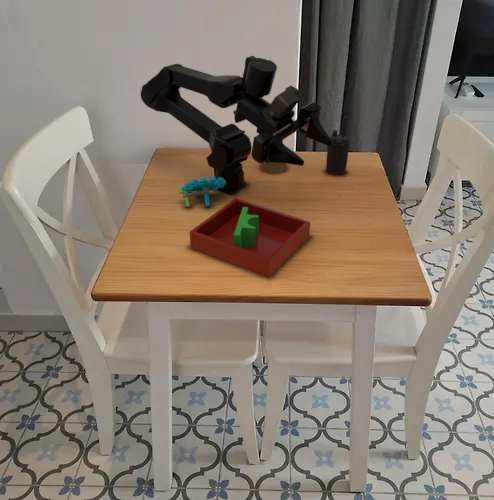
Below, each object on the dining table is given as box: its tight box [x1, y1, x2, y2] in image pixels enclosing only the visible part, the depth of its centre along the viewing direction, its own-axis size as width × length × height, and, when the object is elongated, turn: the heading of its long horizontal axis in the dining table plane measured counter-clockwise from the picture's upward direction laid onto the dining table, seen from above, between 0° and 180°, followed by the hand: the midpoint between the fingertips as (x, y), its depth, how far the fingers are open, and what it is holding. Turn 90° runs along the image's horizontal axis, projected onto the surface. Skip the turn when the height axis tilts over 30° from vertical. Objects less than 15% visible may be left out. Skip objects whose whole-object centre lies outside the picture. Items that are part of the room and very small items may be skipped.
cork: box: [261, 140, 286, 174], centre depth 140 cm, size 6×6×11 cm
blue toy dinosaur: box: [177, 176, 226, 208], centre depth 126 cm, size 11×6×10 cm
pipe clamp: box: [234, 207, 258, 248], centre depth 113 cm, size 11×4×5 cm, turn 173°
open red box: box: [189, 197, 311, 278], centre depth 113 cm, size 19×17×4 cm
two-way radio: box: [325, 115, 350, 175], centre depth 137 cm, size 6×4×15 cm
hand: (317, 153), depth 112 cm, fingers open, 9 cm apart
